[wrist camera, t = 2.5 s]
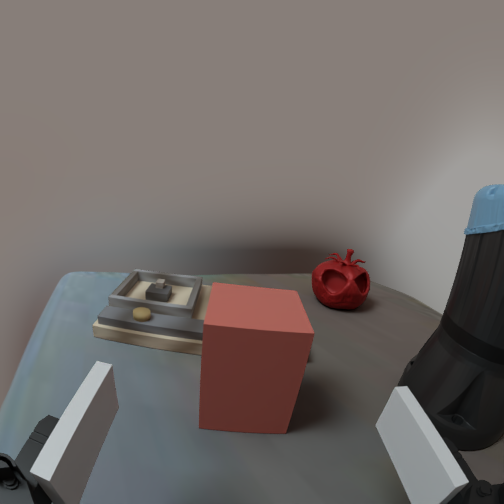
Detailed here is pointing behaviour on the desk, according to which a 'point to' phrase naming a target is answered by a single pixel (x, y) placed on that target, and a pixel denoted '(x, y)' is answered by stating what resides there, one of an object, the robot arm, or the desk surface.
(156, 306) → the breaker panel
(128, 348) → the desk surface
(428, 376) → the robot arm
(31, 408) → the desk surface
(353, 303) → the pomegranate
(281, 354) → the tall red rectangular block
